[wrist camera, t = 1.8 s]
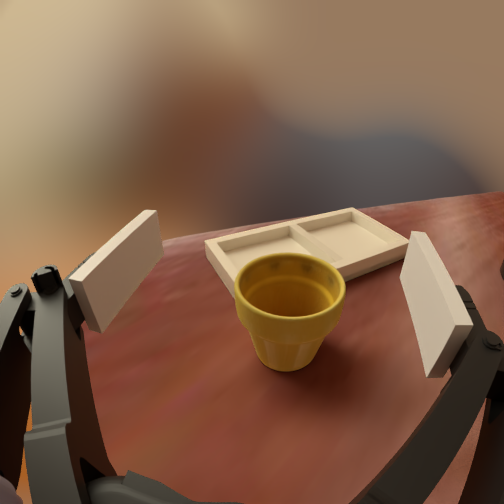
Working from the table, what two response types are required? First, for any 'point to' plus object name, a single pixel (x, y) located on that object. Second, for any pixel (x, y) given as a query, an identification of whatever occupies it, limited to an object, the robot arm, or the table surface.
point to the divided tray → (312, 244)
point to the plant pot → (288, 306)
